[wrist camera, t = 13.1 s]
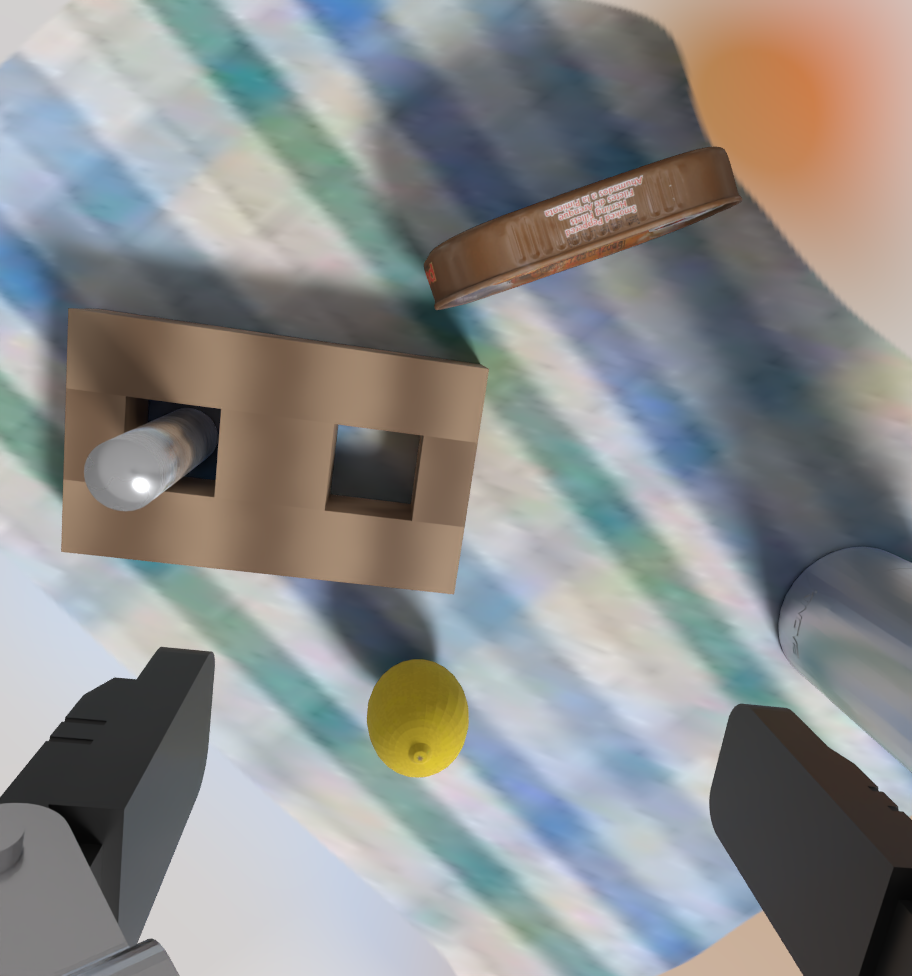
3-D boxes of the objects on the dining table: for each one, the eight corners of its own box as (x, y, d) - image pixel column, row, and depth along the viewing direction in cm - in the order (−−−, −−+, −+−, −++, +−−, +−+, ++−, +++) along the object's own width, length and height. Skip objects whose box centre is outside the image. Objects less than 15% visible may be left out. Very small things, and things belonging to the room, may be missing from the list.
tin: (433, 315, 39) (443, 316, 31) (413, 256, 38) (418, 242, 30) (699, 223, 39) (780, 200, 31) (685, 163, 38) (764, 123, 30)
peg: (219, 411, 39) (162, 444, 30) (215, 466, 40) (158, 515, 30) (162, 404, 39) (85, 434, 29) (159, 459, 40) (82, 506, 30)
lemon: (352, 662, 43) (343, 739, 35) (436, 621, 43) (446, 689, 35) (395, 736, 45) (395, 825, 37) (477, 696, 44) (494, 777, 37)
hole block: (480, 364, 40) (488, 368, 36) (449, 571, 42) (453, 594, 39) (98, 308, 38) (68, 308, 34) (89, 531, 40) (61, 551, 37)
